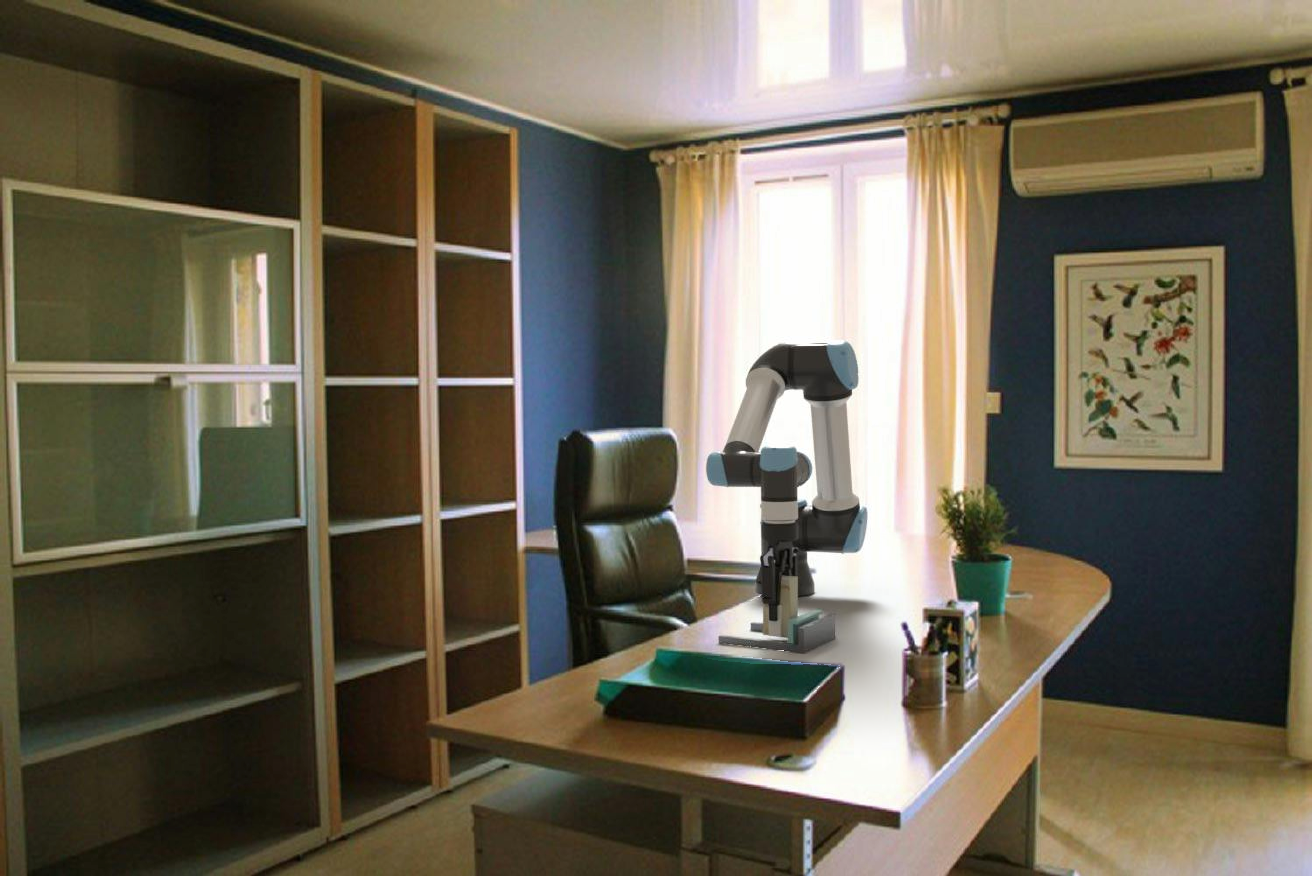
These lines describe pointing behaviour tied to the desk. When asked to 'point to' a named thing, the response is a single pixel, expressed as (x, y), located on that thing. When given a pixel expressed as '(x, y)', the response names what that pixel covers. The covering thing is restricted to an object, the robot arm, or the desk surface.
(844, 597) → the desk surface
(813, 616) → the block
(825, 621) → the lane
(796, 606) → the skincare box
